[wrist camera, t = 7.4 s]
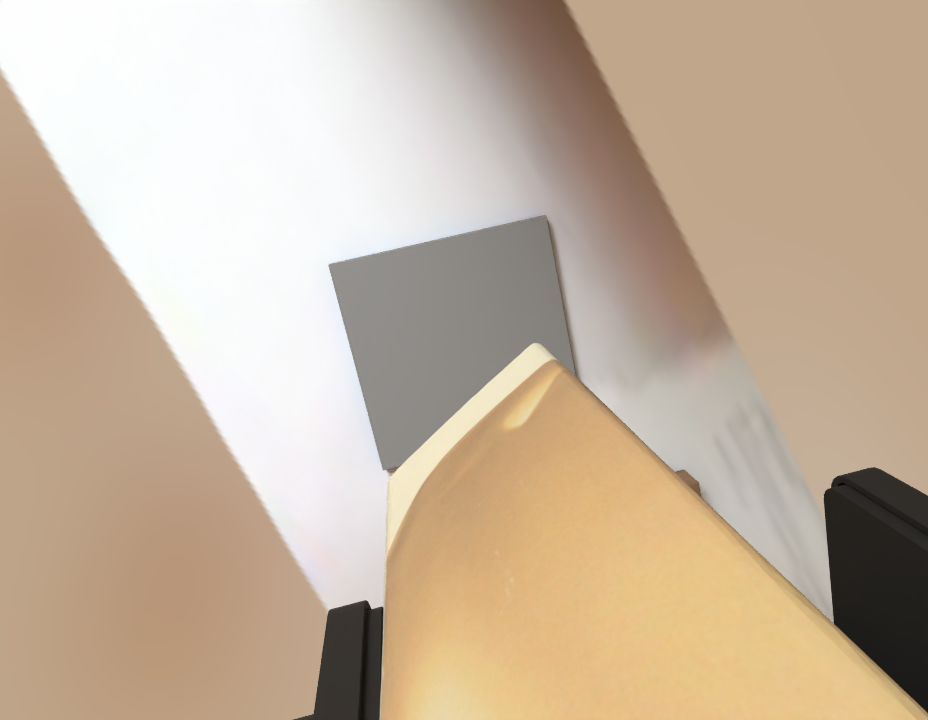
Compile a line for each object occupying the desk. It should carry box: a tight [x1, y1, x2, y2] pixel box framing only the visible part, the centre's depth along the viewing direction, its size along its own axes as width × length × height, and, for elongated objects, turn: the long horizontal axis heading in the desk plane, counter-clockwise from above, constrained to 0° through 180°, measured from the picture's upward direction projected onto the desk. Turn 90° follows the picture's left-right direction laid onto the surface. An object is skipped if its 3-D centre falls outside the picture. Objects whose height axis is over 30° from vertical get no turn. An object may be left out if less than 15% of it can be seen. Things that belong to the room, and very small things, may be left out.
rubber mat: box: [329, 215, 576, 470], centre depth 28 cm, size 9×9×1 cm
